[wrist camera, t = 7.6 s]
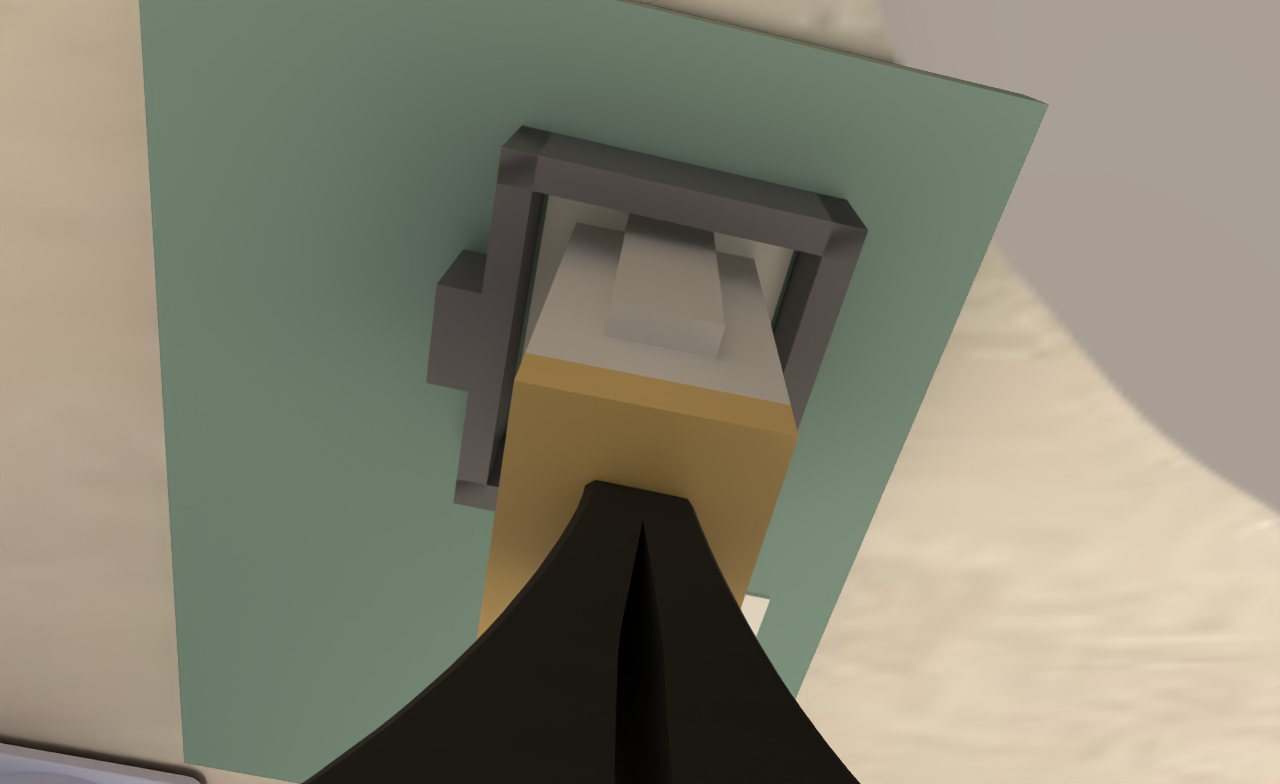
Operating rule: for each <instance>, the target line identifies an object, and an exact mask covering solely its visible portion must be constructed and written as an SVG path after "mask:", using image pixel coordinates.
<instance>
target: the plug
mask: <svg viewBox="0 0 1280 784" xmlns="http://www.w3.org/2000/svg"><path fill="white" fill-rule="evenodd" d="M798 437H799V436H798V432H797V428H796V424H795V420H794V416H793V412H792V408H791V404H790V400H789V396H788V392H787V388H786V384H785V380H784V376H783V372H782V368H781V364H780V360H779V356H778V352H777V348H776V344H775V340H774V336H773V332H772V328H771V324H770V320H769V316H768V312H767V308H766V304H765V300H764V296H763V292H762V288H761V284H760V280H759V276H758V272H757V268H756V264H755V260H754V259H752V258H748V257H743V256H738V255H733V254H728V253H723V252H719V251H716V248H715V240H714V232H712V231H708V230H703V229H699V228H694V227H690V226H685V225H681V224H677V223H672V222H668V221H663V220H659V219H654V218H650V217H645V216H641V215H637V214H632V213H629V216H628V221H627V226H626V231H625V232H622V231H617V230H613V229H608V228H603V227H598V226H593V225H589V224H584V223H579V222H577V223H576V225H575V228H574V230H573V233H572V235H571V238H570V241H569V243H568V246H567V248H566V251H565V253H564V256H563V258H562V261H561V263H560V266H559V268H558V271H557V273H556V276H555V278H554V281H553V284H552V286H551V289H550V291H549V294H548V296H547V299H546V301H545V304H544V306H543V309H542V311H541V314H540V316H539V319H538V322H537V324H536V327H535V329H534V332H533V334H532V337H531V339H530V342H529V344H528V347H527V349H526V352H525V354H524V357H523V360H522V362H521V365H520V367H519V370H518V372H517V375H516V377H515V380H514V386H513V392H512V399H511V406H510V413H509V420H508V427H507V434H506V441H505V448H504V454H503V461H502V468H501V475H500V482H499V489H498V496H497V503H496V510H495V517H494V523H493V530H492V537H491V544H490V551H489V558H488V565H487V572H486V579H485V585H484V592H483V599H482V606H481V613H480V620H479V627H478V634H477V639H478V638H479V637H480V636H481V635H482V634H483V633H484V632H485V631H486V630H487V629H488V628H489V627H490V625H491V624H492V623H493V622H494V621H495V620H496V619H497V618H498V617H499V616H500V615H501V613H502V612H503V611H504V610H505V609H506V607H507V606H508V605H509V604H510V603H511V601H512V600H513V599H514V598H515V597H516V595H517V594H518V593H519V592H520V591H521V589H522V588H523V587H524V586H525V585H526V583H527V582H528V581H529V580H530V579H531V577H532V576H533V575H534V573H535V572H536V571H537V570H538V568H539V567H540V565H541V564H542V562H543V561H544V560H545V558H546V557H547V555H548V554H549V553H550V551H551V550H552V548H553V547H554V545H555V544H556V543H557V541H558V540H559V538H560V537H561V535H562V533H563V532H564V530H565V528H566V527H567V525H568V523H569V522H570V520H571V518H572V517H573V515H574V513H575V511H576V509H577V507H578V505H579V502H580V500H581V498H582V495H583V492H584V488H585V485H587V484H588V483H590V482H592V481H594V480H599V481H604V482H609V483H614V484H619V485H624V486H629V487H634V488H639V489H643V490H648V491H653V492H658V493H663V494H668V495H673V496H678V497H683V498H687V499H688V500H689V501H690V503H691V504H692V506H693V508H694V510H695V513H696V515H697V518H698V520H699V523H700V525H701V527H702V530H703V532H704V535H705V537H706V539H707V541H708V544H709V546H710V548H711V550H712V553H713V555H714V557H715V559H716V561H717V563H718V566H719V568H720V570H721V572H722V574H723V576H724V578H725V580H726V582H727V584H728V586H729V588H730V590H731V592H732V594H733V596H734V597H735V599H736V601H737V603H738V605H739V607H740V609H741V607H742V604H743V601H744V598H745V595H746V592H747V589H748V586H749V583H750V580H751V577H752V574H753V571H754V568H755V565H756V562H757V559H758V556H759V553H760V550H761V547H762V544H763V541H764V538H765V535H766V532H767V529H768V526H769V523H770V520H771V517H772V514H773V511H774V508H775V505H776V502H777V499H778V496H779V493H780V490H781V487H782V485H783V482H784V479H785V476H786V473H787V470H788V467H789V464H790V461H791V458H792V455H793V452H794V449H795V446H796V443H797V440H798Z"/></svg>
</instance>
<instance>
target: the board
mask: <svg viewBox="0 0 1280 784" xmlns="http://www.w3.org/2000/svg"><path fill="white" fill-rule="evenodd" d="M139 5H140V22H141V39H142V56H143V72H144V89H145V106H146V123H147V140H148V157H149V174H150V191H151V208H152V225H153V242H154V259H155V276H156V293H157V310H158V326H159V343H160V360H161V377H162V394H163V411H164V428H165V445H166V462H167V479H168V496H169V513H170V530H171V547H172V563H173V580H174V597H175V614H176V631H177V648H178V665H179V682H180V699H181V716H182V733H183V750H184V763H188V764H193V765H199V766H205V767H210V768H216V769H222V770H227V771H233V772H238V773H244V774H250V775H255V776H261V777H266V778H272V779H278V780H283V781H289V782H294V783H300V784H301V783H303V782H304V781H306V780H307V779H309V778H310V777H312V776H313V775H315V774H316V773H317V772H319V771H320V770H321V769H323V768H324V767H325V766H327V765H328V764H330V763H331V762H332V761H334V760H335V759H336V758H338V757H339V756H340V755H342V754H343V753H344V752H346V751H347V750H349V749H350V748H351V747H353V746H354V745H355V744H357V743H358V742H359V741H361V740H362V739H364V738H365V737H366V736H368V735H369V734H370V733H372V732H373V731H374V730H376V729H377V728H378V727H380V726H381V725H382V724H384V723H385V722H386V721H387V720H389V719H390V718H391V717H392V716H394V715H395V714H396V713H397V712H398V711H400V710H401V709H402V708H403V707H404V706H406V705H407V704H408V703H409V702H410V701H412V700H413V699H414V698H415V697H416V696H417V695H418V694H419V693H421V692H422V691H423V690H424V689H425V688H426V687H427V686H429V685H430V684H431V683H432V682H433V681H434V680H435V679H436V678H438V677H439V676H440V675H441V674H442V673H443V672H444V671H445V670H447V669H448V668H449V667H450V666H451V665H452V664H453V663H454V662H455V661H456V660H457V659H458V658H459V657H460V656H461V655H462V654H463V653H464V652H465V651H466V650H467V649H468V648H469V647H470V646H471V645H472V644H473V643H474V642H475V641H476V640H477V634H478V627H479V620H480V613H481V606H482V599H483V592H484V585H485V579H486V572H487V565H488V558H489V551H490V544H491V537H492V530H493V523H494V517H495V510H496V503H497V496H498V489H499V482H500V475H501V468H502V461H503V454H504V448H505V441H506V434H507V427H508V420H509V413H510V406H511V399H512V392H513V386H514V380H515V377H516V375H517V372H518V370H519V367H520V365H521V362H522V360H523V357H524V354H525V352H526V349H527V347H528V344H529V342H530V339H531V337H532V334H533V332H534V329H535V327H536V324H537V322H538V319H539V316H540V314H541V311H542V309H543V306H544V304H545V301H546V299H547V296H548V294H549V291H550V289H551V286H552V284H553V281H554V278H555V276H556V273H557V271H558V268H559V266H560V263H561V261H562V258H563V256H564V253H565V251H566V248H567V246H568V243H569V241H570V238H571V235H572V233H573V230H574V228H575V225H576V223H577V222H579V223H584V224H589V225H593V226H598V227H603V228H608V229H613V230H617V231H622V232H625V231H626V226H627V221H628V216H629V213H632V214H637V215H641V216H645V217H650V218H654V219H659V220H663V221H668V222H672V223H677V224H681V225H685V226H690V227H694V228H699V229H703V230H708V231H712V232H714V240H715V248H716V251H719V252H723V253H728V254H733V255H738V256H743V257H748V258H752V259H754V260H755V264H756V268H757V272H758V276H759V280H760V284H761V288H762V292H763V296H764V300H765V304H766V308H767V312H768V316H769V320H770V324H771V328H772V332H773V336H774V340H775V344H776V348H777V352H778V356H779V360H780V364H781V368H782V372H783V376H784V380H785V384H786V388H787V392H788V396H789V400H790V404H791V408H792V412H793V416H794V420H795V424H796V428H797V432H798V436H799V437H798V440H797V443H796V446H795V449H794V452H793V455H792V458H791V461H790V464H789V467H788V470H787V473H786V476H785V479H784V482H783V485H782V487H781V490H780V493H779V496H778V499H777V502H776V505H775V508H774V511H773V514H772V517H771V520H770V523H769V526H768V529H767V532H766V535H765V538H764V541H763V544H762V547H761V550H760V553H759V556H758V559H757V562H756V565H755V568H754V571H753V574H752V577H751V580H750V583H749V586H748V589H747V592H746V595H745V598H744V601H743V604H742V607H741V611H742V613H743V614H744V616H745V618H746V620H747V622H748V624H749V626H750V627H751V629H752V631H753V633H754V634H755V636H756V638H757V640H758V641H759V643H760V645H761V646H762V648H763V650H764V651H765V653H766V655H767V656H768V658H769V659H770V661H771V663H772V664H773V666H774V668H775V669H776V671H777V672H778V674H779V676H780V677H781V679H782V680H783V682H784V683H785V685H786V686H787V688H788V689H789V691H790V693H791V694H792V695H793V697H794V698H796V696H797V694H798V691H799V689H800V687H801V684H802V682H803V680H804V677H805V675H806V673H807V670H808V668H809V666H810V663H811V661H812V659H813V656H814V654H815V651H816V649H817V647H818V644H819V642H820V640H821V637H822V635H823V633H824V630H825V628H826V626H827V623H828V621H829V619H830V616H831V614H832V612H833V609H834V607H835V605H836V602H837V600H838V598H839V595H840V593H841V591H842V588H843V586H844V583H845V581H846V579H847V576H848V574H849V572H850V569H851V567H852V565H853V562H854V560H855V558H856V555H857V553H858V551H859V548H860V546H861V544H862V541H863V539H864V537H865V534H866V532H867V530H868V527H869V525H870V523H871V520H872V518H873V515H874V513H875V511H876V508H877V506H878V504H879V501H880V499H881V497H882V494H883V492H884V490H885V487H886V485H887V483H888V480H889V478H890V476H891V473H892V471H893V469H894V466H895V464H896V462H897V459H898V457H899V454H900V452H901V450H902V447H903V445H904V443H905V440H906V438H907V436H908V433H909V431H910V429H911V426H912V424H913V422H914V419H915V417H916V415H917V412H918V410H919V408H920V405H921V403H922V401H923V398H924V396H925V394H926V391H927V389H928V386H929V384H930V382H931V379H932V377H933V375H934V372H935V370H936V368H937V365H938V363H939V361H940V358H941V356H942V354H943V351H944V349H945V347H946V344H947V342H948V340H949V337H950V335H951V333H952V330H953V328H954V325H955V323H956V321H957V318H958V316H959V314H960V311H961V309H962V307H963V304H964V302H965V300H966V297H967V295H968V293H969V290H970V288H971V286H972V283H973V281H974V279H975V276H976V274H977V272H978V269H979V267H980V265H981V262H982V260H983V257H984V255H985V253H986V250H987V248H988V246H989V243H990V241H991V239H992V236H993V234H994V232H995V229H996V227H997V224H998V222H999V220H1000V217H1001V215H1002V213H1003V211H1004V208H1005V206H1006V204H1007V201H1008V199H1009V196H1010V194H1011V192H1012V189H1013V187H1014V185H1015V182H1016V180H1017V177H1018V175H1019V173H1020V171H1021V168H1022V166H1023V164H1024V161H1025V159H1026V156H1027V154H1028V152H1029V149H1030V147H1031V145H1032V143H1033V140H1034V138H1035V136H1036V133H1037V131H1038V128H1039V126H1040V124H1041V121H1042V119H1043V117H1044V114H1045V112H1046V109H1047V107H1048V104H1046V103H1043V102H1041V101H1038V100H1036V99H1033V98H1031V97H1028V96H1025V95H1022V94H1018V93H1014V92H1010V91H1005V90H1002V89H997V88H993V87H989V86H985V85H981V84H977V83H972V82H968V81H964V80H960V79H956V78H951V77H948V76H943V75H939V74H935V73H931V72H927V71H923V70H918V69H914V68H910V67H906V66H902V65H898V64H893V63H889V62H885V61H881V60H877V59H873V58H869V57H864V56H860V55H856V54H852V53H848V52H844V51H839V50H835V49H831V48H827V47H823V46H819V45H815V44H810V43H806V42H802V41H798V40H794V39H790V38H785V37H781V36H777V35H773V34H769V33H765V32H761V31H756V30H752V29H748V28H744V27H740V26H736V25H731V24H727V23H723V22H719V21H715V20H711V19H707V18H702V17H698V16H694V15H690V14H686V13H682V12H677V11H673V10H669V9H665V8H661V7H657V6H653V5H648V4H644V3H640V2H636V1H632V0H139Z"/></svg>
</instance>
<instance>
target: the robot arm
mask: <svg viewBox="0 0 1280 784" xmlns="http://www.w3.org/2000/svg"><path fill="white" fill-rule="evenodd" d="M0 784H201V783H200V782H199V781H198V780H196V779H194V778H192V777H189V776H184V775H178V774H173V773H167V772H161V771H156V770H150V769H144V768H139V767H133V766H127V765H122V764H116V763H111V762H105V761H99V760H94V759H88V758H82V757H77V756H71V755H65V754H60V753H54V752H48V751H43V750H37V749H32V748H26V747H20V746H15V745H9V744H3V743H0ZM301 784H860V783H859V781H858V780H857V779H856V778H855V777H854V776H853V775H852V773H851V772H850V771H849V770H848V769H847V767H846V766H845V765H844V764H843V762H842V761H841V760H840V759H839V758H838V756H837V755H836V754H835V753H834V751H833V750H832V749H831V748H830V746H829V745H828V744H827V742H826V741H825V740H824V739H823V737H822V736H821V734H820V733H819V732H818V730H817V729H816V728H815V726H814V725H813V724H812V722H811V721H810V719H809V718H808V717H807V715H806V714H805V713H804V711H803V710H802V709H801V707H800V706H799V704H798V703H797V701H796V700H795V698H794V697H793V695H792V694H791V693H790V691H789V689H788V688H787V686H786V685H785V683H784V682H783V680H782V679H781V677H780V676H779V674H778V672H777V671H776V669H775V668H774V666H773V664H772V663H771V661H770V659H769V658H768V656H767V655H766V653H765V651H764V650H763V648H762V646H761V645H760V643H759V641H758V640H757V638H756V636H755V634H754V633H753V631H752V629H751V627H750V626H749V624H748V622H747V620H746V618H745V616H744V614H743V613H742V611H741V609H740V607H739V605H738V603H737V601H736V599H735V597H734V596H733V594H732V592H731V590H730V588H729V586H728V584H727V582H726V580H725V578H724V576H723V574H722V572H721V570H720V568H719V566H718V563H717V561H716V559H715V557H714V555H713V553H712V550H711V548H710V546H709V544H708V541H707V539H706V537H705V535H704V532H703V530H702V527H701V525H700V523H699V520H698V518H697V515H696V513H695V510H694V508H693V506H692V504H691V503H690V501H689V500H688V499H687V498H683V497H678V496H673V495H668V494H663V493H658V492H653V491H648V490H643V489H639V488H634V487H629V486H624V485H619V484H614V483H609V482H604V481H599V480H594V481H592V482H590V483H588V484H587V485H585V488H584V492H583V495H582V498H581V500H580V502H579V505H578V507H577V509H576V511H575V513H574V515H573V517H572V518H571V520H570V522H569V523H568V525H567V527H566V528H565V530H564V532H563V533H562V535H561V537H560V538H559V540H558V541H557V543H556V544H555V545H554V547H553V548H552V550H551V551H550V553H549V554H548V555H547V557H546V558H545V560H544V561H543V562H542V564H541V565H540V567H539V568H538V570H537V571H536V572H535V573H534V575H533V576H532V577H531V579H530V580H529V581H528V582H527V583H526V585H525V586H524V587H523V588H522V589H521V591H520V592H519V593H518V594H517V595H516V597H515V598H514V599H513V600H512V601H511V603H510V604H509V605H508V606H507V607H506V609H505V610H504V611H503V612H502V613H501V615H500V616H499V617H498V618H497V619H496V620H495V621H494V622H493V623H492V624H491V625H490V627H489V628H488V629H487V630H486V631H485V632H484V633H483V634H482V635H481V636H480V637H479V638H478V639H477V640H476V641H475V642H474V643H473V644H472V645H471V646H470V647H469V648H468V649H467V650H466V651H465V652H464V653H463V654H462V655H461V656H460V657H459V658H458V659H457V660H456V661H455V662H454V663H453V664H452V665H451V666H450V667H449V668H448V669H447V670H445V671H444V672H443V673H442V674H441V675H440V676H439V677H438V678H436V679H435V680H434V681H433V682H432V683H431V684H430V685H429V686H427V687H426V688H425V689H424V690H423V691H422V692H421V693H419V694H418V695H417V696H416V697H415V698H414V699H413V700H412V701H410V702H409V703H408V704H407V705H406V706H404V707H403V708H402V709H401V710H400V711H398V712H397V713H396V714H395V715H394V716H392V717H391V718H390V719H389V720H387V721H386V722H385V723H384V724H382V725H381V726H380V727H378V728H377V729H376V730H374V731H373V732H372V733H370V734H369V735H368V736H366V737H365V738H364V739H362V740H361V741H359V742H358V743H357V744H355V745H354V746H353V747H351V748H350V749H349V750H347V751H346V752H344V753H343V754H342V755H340V756H339V757H338V758H336V759H335V760H334V761H332V762H331V763H330V764H328V765H327V766H325V767H324V768H323V769H321V770H320V771H319V772H317V773H316V774H315V775H313V776H312V777H310V778H309V779H307V780H306V781H304V782H303V783H301Z"/></svg>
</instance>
